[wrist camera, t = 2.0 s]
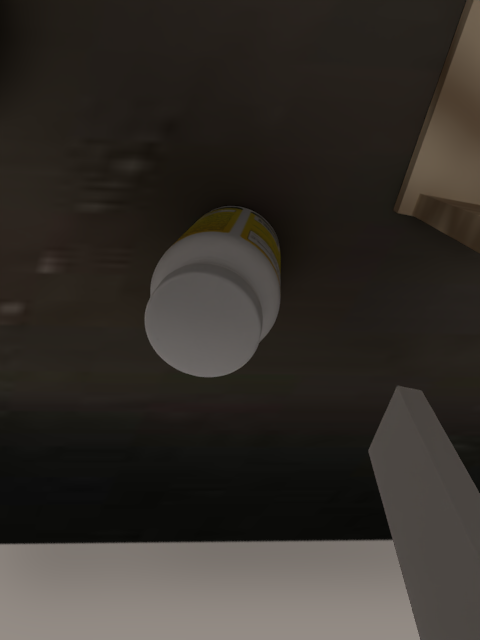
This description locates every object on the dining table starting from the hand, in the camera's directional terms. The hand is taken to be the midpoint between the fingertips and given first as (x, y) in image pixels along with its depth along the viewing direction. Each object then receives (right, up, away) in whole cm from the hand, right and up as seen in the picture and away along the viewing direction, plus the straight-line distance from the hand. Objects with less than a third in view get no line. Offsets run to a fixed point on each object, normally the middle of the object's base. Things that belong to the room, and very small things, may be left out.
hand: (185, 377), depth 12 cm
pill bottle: (+1, +6, +13) cm, 14 cm away
